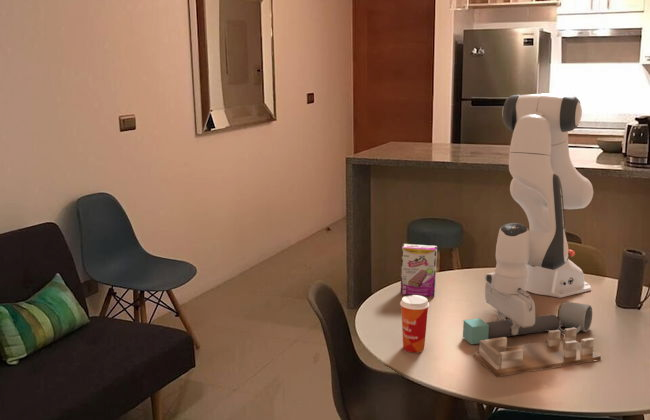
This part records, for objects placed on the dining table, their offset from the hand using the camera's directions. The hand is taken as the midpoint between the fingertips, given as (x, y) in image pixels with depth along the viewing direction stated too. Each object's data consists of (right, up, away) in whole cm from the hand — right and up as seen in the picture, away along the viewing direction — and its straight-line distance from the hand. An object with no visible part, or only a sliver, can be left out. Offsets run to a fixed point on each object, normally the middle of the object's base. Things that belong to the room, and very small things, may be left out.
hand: (508, 329), depth 188 cm
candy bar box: (-21, +6, +33) cm, 39 cm away
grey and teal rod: (+1, -2, +1) cm, 2 cm away
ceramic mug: (+20, -1, +4) cm, 20 cm away
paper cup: (-27, -4, -7) cm, 28 cm away
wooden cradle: (+4, -5, -13) cm, 14 cm away
